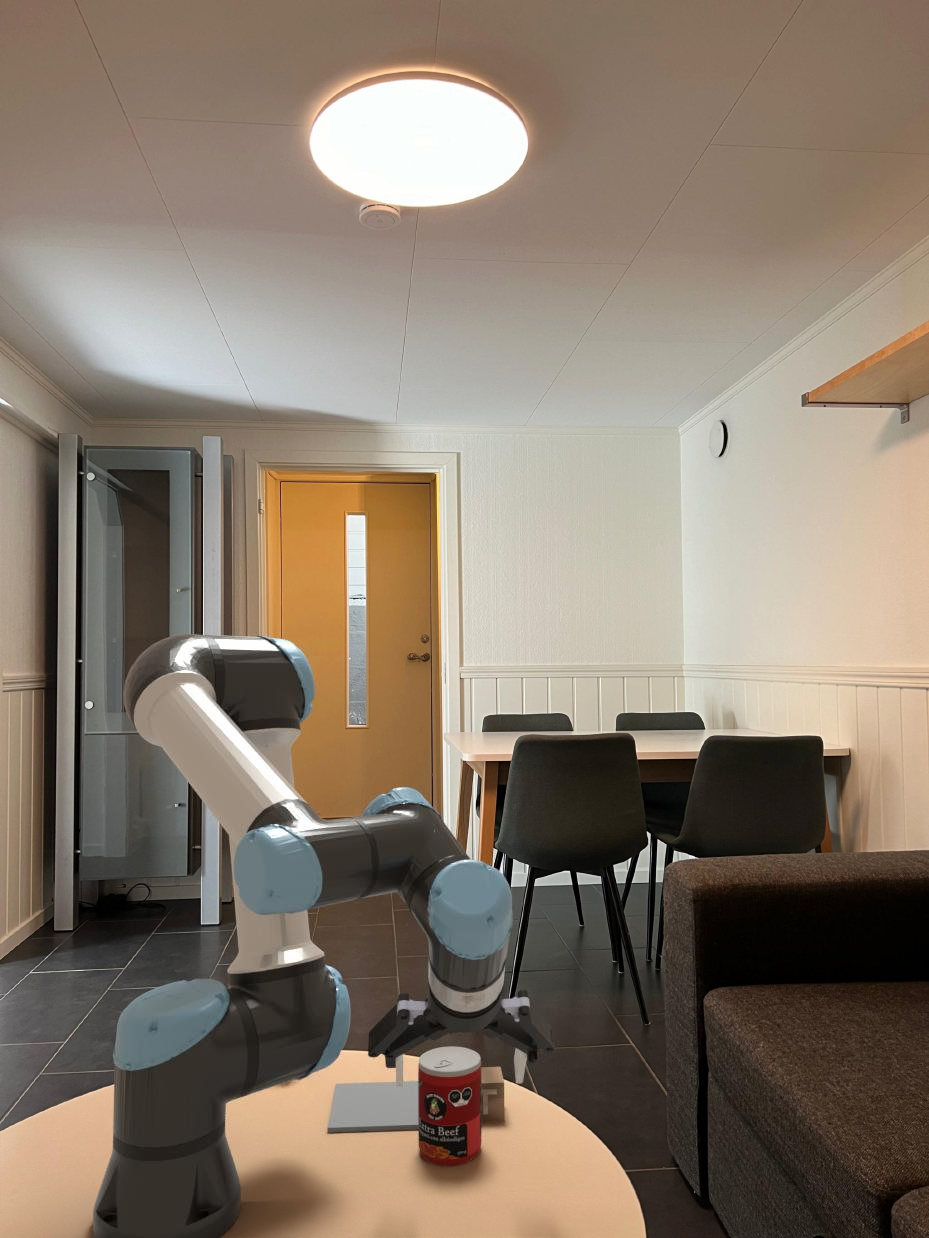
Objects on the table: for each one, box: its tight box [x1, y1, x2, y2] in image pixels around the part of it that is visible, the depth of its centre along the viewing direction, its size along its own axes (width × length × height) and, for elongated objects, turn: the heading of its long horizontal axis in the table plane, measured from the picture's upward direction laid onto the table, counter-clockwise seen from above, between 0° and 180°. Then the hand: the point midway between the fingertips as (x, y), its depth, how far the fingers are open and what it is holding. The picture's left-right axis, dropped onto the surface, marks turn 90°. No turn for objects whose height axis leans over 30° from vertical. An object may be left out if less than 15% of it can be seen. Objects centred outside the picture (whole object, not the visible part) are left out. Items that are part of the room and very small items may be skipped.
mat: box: [327, 1080, 418, 1134], centre depth 122 cm, size 13×13×1 cm
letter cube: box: [481, 1066, 505, 1123], centre depth 121 cm, size 5×5×5 cm
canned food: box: [417, 1046, 482, 1166], centre depth 111 cm, size 8×8×11 cm
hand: (459, 1072), depth 103 cm, fingers open, 13 cm apart
